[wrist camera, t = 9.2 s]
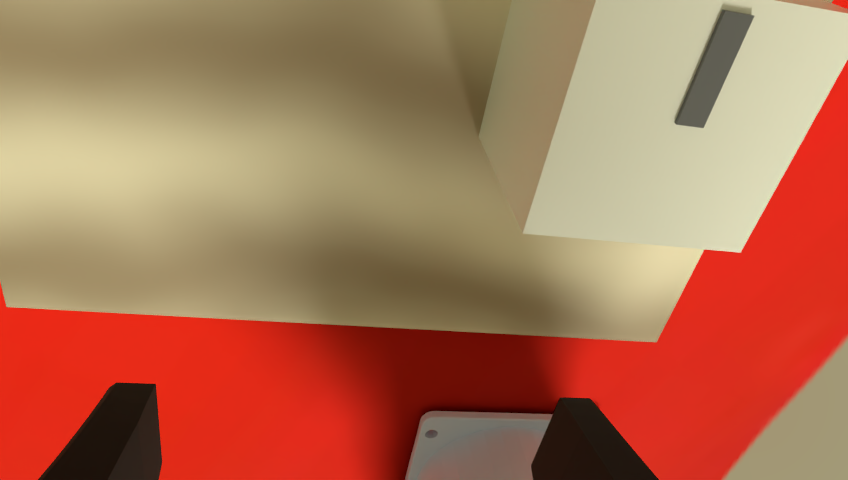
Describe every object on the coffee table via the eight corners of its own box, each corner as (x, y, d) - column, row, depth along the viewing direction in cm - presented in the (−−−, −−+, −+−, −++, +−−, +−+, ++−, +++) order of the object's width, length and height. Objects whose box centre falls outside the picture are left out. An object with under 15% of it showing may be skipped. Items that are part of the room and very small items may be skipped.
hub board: (645, 324, 24) (702, 415, 20) (20, 286, 20) (-53, 394, 16) (882, -158, 15) (1056, -151, 12) (-137, -415, 11) (-374, -534, 7)
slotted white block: (650, 157, 19) (742, 255, 14) (478, 136, 17) (524, 236, 13) (729, -34, 16) (874, 19, 11) (529, -73, 15) (607, -29, 10)
